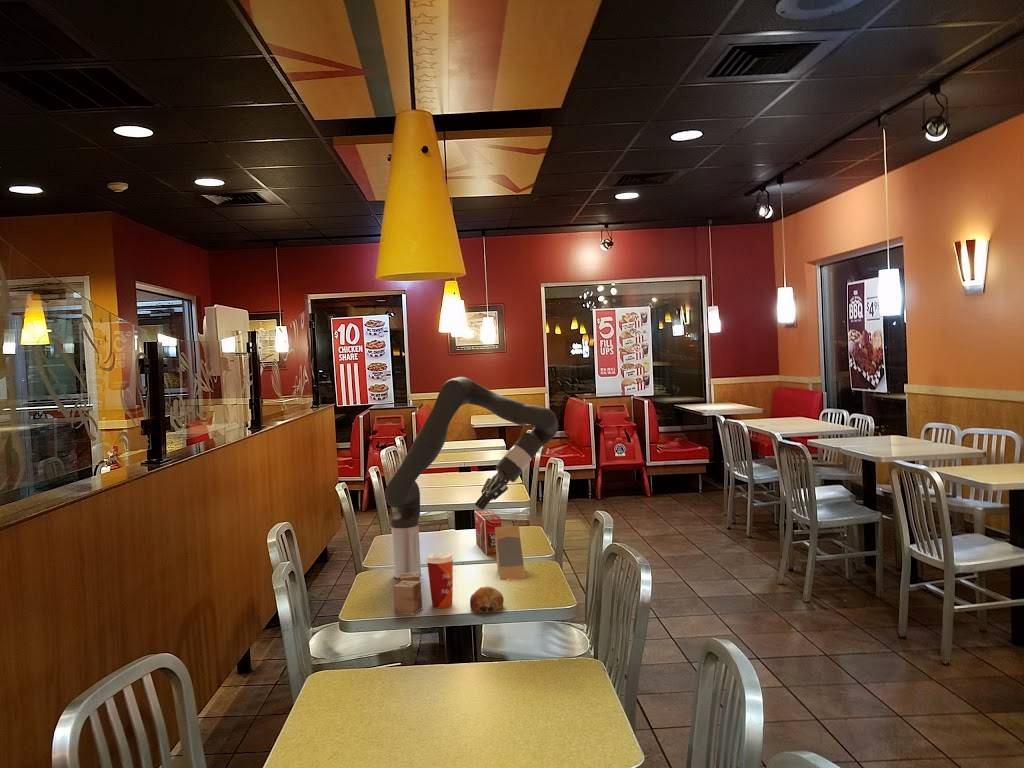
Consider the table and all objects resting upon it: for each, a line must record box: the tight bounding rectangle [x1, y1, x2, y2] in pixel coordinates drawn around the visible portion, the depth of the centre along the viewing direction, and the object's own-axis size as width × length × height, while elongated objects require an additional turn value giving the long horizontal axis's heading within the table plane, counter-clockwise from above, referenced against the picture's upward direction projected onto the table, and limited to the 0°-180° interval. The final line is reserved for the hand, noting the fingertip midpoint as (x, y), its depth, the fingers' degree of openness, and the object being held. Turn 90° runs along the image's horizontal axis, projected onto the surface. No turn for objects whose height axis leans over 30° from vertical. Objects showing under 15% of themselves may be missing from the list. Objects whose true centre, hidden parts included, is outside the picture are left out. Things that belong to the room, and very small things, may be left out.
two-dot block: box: [399, 572, 421, 583], centre depth 252 cm, size 6×6×8 cm
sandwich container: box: [495, 525, 526, 581], centre depth 277 cm, size 9×15×15 cm, turn 5°
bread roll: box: [469, 586, 505, 614], centre depth 241 cm, size 10×10×8 cm
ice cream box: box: [474, 509, 502, 556], centre depth 316 cm, size 20×6×13 cm, turn 13°
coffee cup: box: [425, 552, 455, 609], centre depth 245 cm, size 8×8×15 cm
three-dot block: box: [393, 580, 423, 614], centre depth 242 cm, size 6×6×8 cm
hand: (478, 507), depth 249 cm, fingers closed
